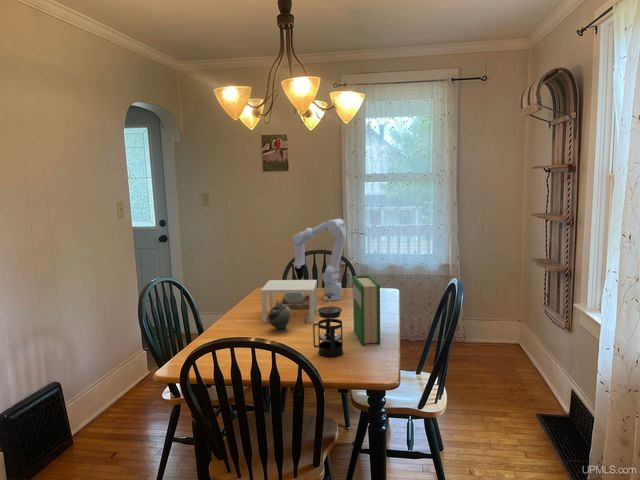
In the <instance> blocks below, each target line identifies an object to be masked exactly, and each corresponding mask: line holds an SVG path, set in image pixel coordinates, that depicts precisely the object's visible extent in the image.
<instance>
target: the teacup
mask: <svg viewBox="0 0 640 480" xmlns="http://www.w3.org/2000/svg"><path fill="white" fill-rule="evenodd" d="M284 296H285V301H286V302H285V303H286V304H304V302H305V301H304V298H305V296H306V293H284Z"/></svg>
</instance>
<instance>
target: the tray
mask: <svg viewBox="0 0 640 480" xmlns="http://www.w3.org/2000/svg"><path fill="white" fill-rule="evenodd" d="M283 296H284V298H283V297H282V298H283V299H282V298H281V299H282V301H281V300H280V301H281V303H280V302H279V303H280V304H283V305H286V306H287V307H288V308H289V309H290V311H291V310H295V311H296V310H297V311H299V310H301V311H302V310H303V311H304V310H308V311H309V308H310V301H309V295H305V298H304V302H305V301H307V303H301V304H288V303H287V302H286V301H285V295H283Z"/></svg>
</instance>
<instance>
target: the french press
mask: <svg viewBox="0 0 640 480" xmlns="http://www.w3.org/2000/svg"><path fill="white" fill-rule="evenodd" d="M334 295H335V294H334V293H325V292H324V294H323V296H328V299H329V300H328V305H329V306H322V307H319V308H317V312H318V316H319V317H320V318H323V319H321V320H318V322H317V323H316V322H314V323H312V333H313V334H312V335H313V336H312V338H313V340H312V343H313V347H314V349H315V348H318V351H317V352H318V355H319V356H320V357H322V358H326V359H327V358H328V359H333V358H338V357H342V356H343V355H344V349H343V345H344V344H343V343H344V342H343V321H342V320H340V319H338V318H340V316H341V312H342V311H343V309H342V308H341V307H339V306H331V300H330V299H331V296H334ZM324 323H325V325H322V324H324ZM331 323H337V325H332V324H331ZM316 326H317V327H318V329H317V335H318V344H316V331H315V327H316ZM320 329H323V330H325V333H322V334H320ZM338 329H340V334H339V333H337V332H336V330H338Z"/></svg>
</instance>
